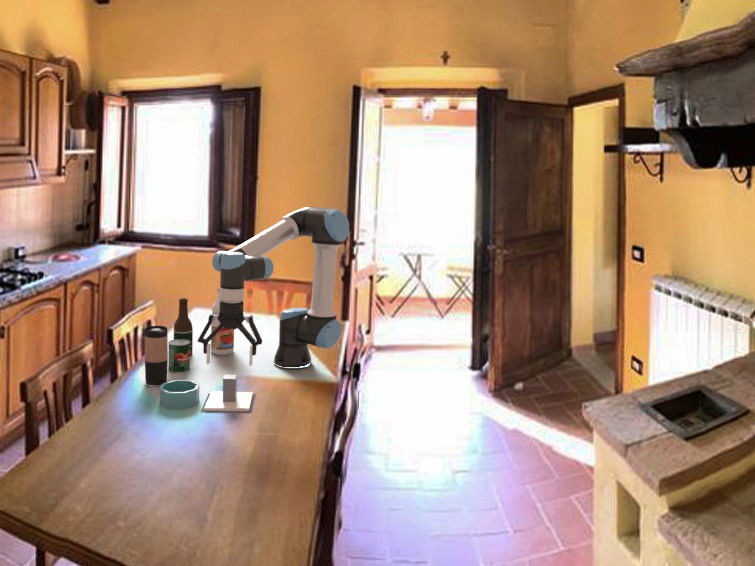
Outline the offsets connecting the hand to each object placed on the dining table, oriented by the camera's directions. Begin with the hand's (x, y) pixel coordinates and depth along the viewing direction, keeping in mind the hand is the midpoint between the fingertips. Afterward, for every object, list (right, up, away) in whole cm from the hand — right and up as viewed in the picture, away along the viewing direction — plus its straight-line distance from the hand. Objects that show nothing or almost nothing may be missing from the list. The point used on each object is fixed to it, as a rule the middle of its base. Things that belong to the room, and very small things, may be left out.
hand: (229, 363), depth 184 cm
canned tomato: (-28, -7, +32) cm, 43 cm away
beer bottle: (-32, -4, +48) cm, 58 cm away
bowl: (-17, -13, +1) cm, 21 cm away
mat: (-1, -14, +3) cm, 14 cm away
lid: (-1, -13, +3) cm, 14 cm away
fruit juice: (-18, -3, +56) cm, 59 cm away
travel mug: (-31, -9, +17) cm, 37 cm away
